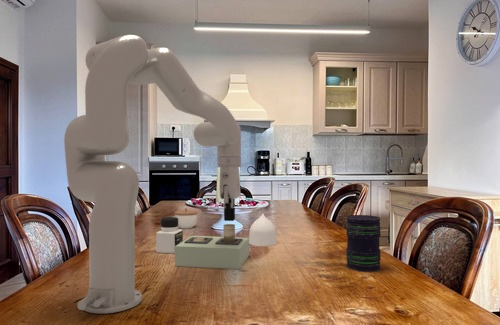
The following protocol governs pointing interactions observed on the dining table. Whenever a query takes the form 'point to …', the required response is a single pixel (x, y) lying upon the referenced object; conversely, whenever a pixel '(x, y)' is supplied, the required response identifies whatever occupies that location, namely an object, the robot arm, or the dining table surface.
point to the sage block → (212, 252)
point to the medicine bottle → (168, 235)
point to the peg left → (199, 239)
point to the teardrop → (262, 232)
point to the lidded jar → (186, 218)
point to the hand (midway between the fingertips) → (229, 220)
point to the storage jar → (363, 243)
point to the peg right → (229, 233)
